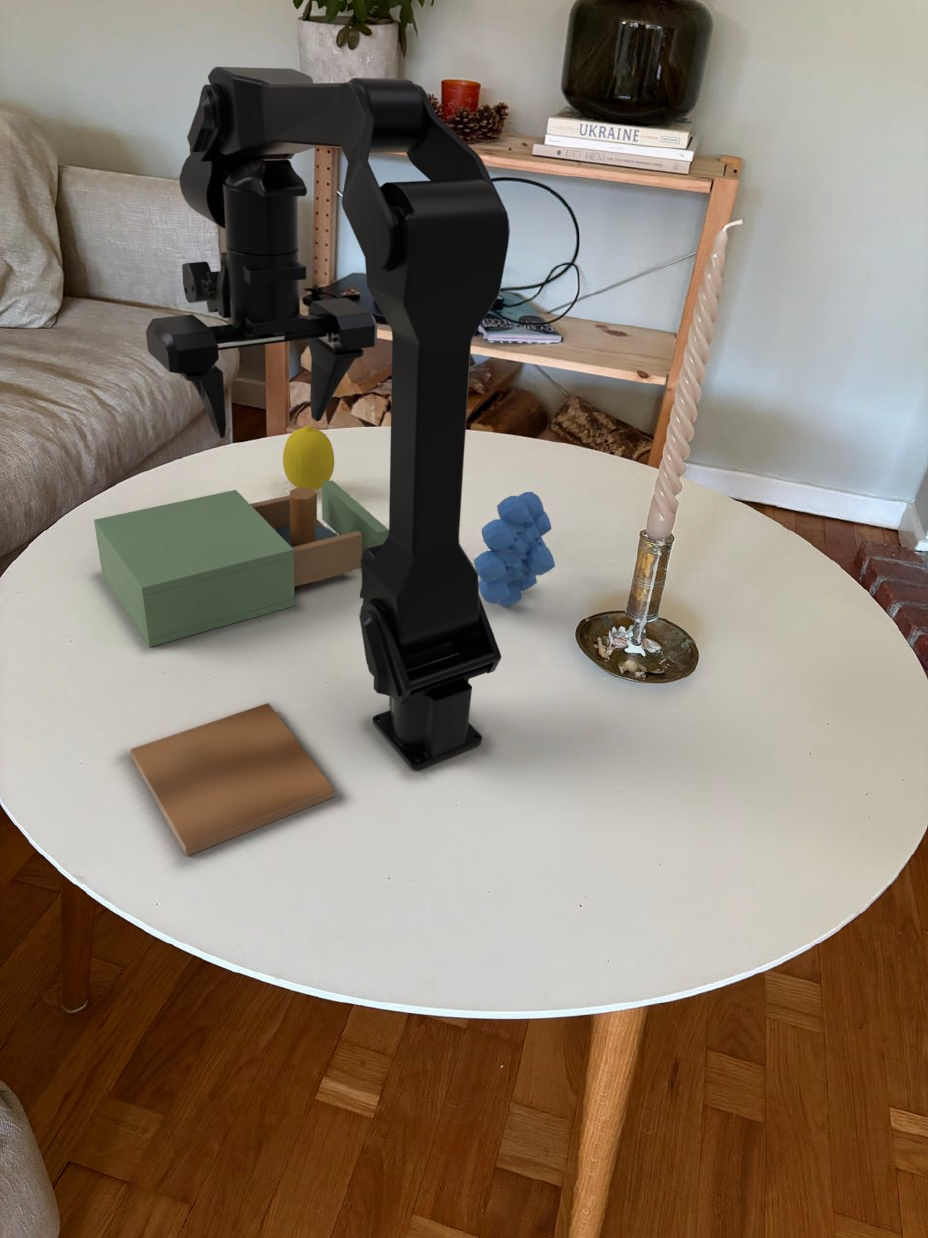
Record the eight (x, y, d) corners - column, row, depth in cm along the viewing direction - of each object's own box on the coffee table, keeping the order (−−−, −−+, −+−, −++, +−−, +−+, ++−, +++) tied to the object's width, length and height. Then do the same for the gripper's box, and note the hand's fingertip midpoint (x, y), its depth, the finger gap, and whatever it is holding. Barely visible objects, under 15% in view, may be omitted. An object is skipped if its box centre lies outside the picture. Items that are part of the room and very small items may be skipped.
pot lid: (352, 554, 93) (353, 501, 89) (286, 571, 89) (284, 517, 86) (318, 522, 97) (318, 470, 94) (254, 537, 94) (251, 484, 90)
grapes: (515, 649, 86) (532, 533, 79) (452, 622, 88) (463, 507, 81) (573, 593, 94) (593, 483, 87) (514, 570, 97) (528, 461, 90)
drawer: (342, 514, 101) (342, 477, 99) (398, 565, 94) (399, 527, 91) (219, 543, 94) (216, 505, 92) (268, 601, 87) (267, 561, 85)
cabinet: (239, 543, 96) (235, 489, 93) (295, 606, 88) (293, 549, 85) (102, 576, 90) (93, 519, 86) (149, 647, 81) (141, 587, 78)
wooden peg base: (334, 797, 69) (334, 789, 69) (186, 857, 63) (185, 848, 63) (268, 710, 76) (268, 702, 76) (131, 757, 71) (129, 749, 70)
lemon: (279, 484, 108) (277, 417, 103) (327, 479, 109) (327, 413, 105) (289, 507, 103) (288, 438, 99) (339, 502, 105) (340, 434, 101)
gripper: (321, 216, 87) (322, 382, 96) (113, 229, 77) (135, 410, 86) (383, 248, 79) (377, 423, 88) (161, 265, 70) (180, 460, 79)
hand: (269, 427), depth 86 cm, fingers open, 9 cm apart
